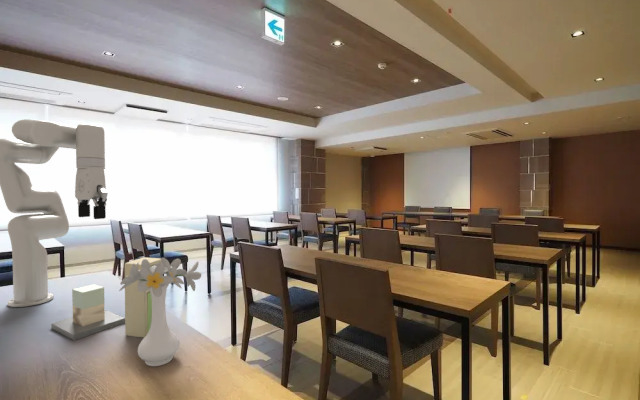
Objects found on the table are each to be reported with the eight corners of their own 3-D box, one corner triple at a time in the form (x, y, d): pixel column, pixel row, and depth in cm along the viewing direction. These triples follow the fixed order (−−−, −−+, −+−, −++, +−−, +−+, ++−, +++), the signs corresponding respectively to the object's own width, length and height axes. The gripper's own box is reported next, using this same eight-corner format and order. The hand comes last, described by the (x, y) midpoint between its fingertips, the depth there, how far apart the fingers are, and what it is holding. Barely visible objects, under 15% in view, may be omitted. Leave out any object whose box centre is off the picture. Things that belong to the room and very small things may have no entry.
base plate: (51, 328, 100) (51, 323, 100) (101, 313, 112) (101, 308, 112) (73, 340, 92) (73, 334, 92) (125, 322, 104) (125, 318, 104)
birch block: (72, 321, 101) (72, 305, 101) (94, 315, 106) (94, 299, 106) (82, 326, 98) (82, 309, 98) (104, 319, 103) (104, 303, 103)
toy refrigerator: (147, 338, 94) (146, 264, 93) (124, 335, 95) (123, 262, 95) (165, 326, 102) (165, 258, 101) (144, 324, 103) (143, 257, 102)
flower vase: (208, 351, 87) (208, 256, 86) (136, 385, 72) (135, 270, 71) (179, 337, 95) (179, 250, 94) (108, 366, 80) (107, 262, 78)
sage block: (72, 305, 101) (72, 289, 100) (94, 299, 106) (93, 284, 106) (82, 309, 98) (82, 292, 97) (104, 303, 103) (104, 287, 103)
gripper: (64, 164, 108) (65, 217, 108) (91, 162, 99) (92, 220, 99) (90, 165, 114) (91, 215, 115) (117, 164, 105) (118, 218, 106)
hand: (91, 217), depth 107 cm, fingers open, 9 cm apart
